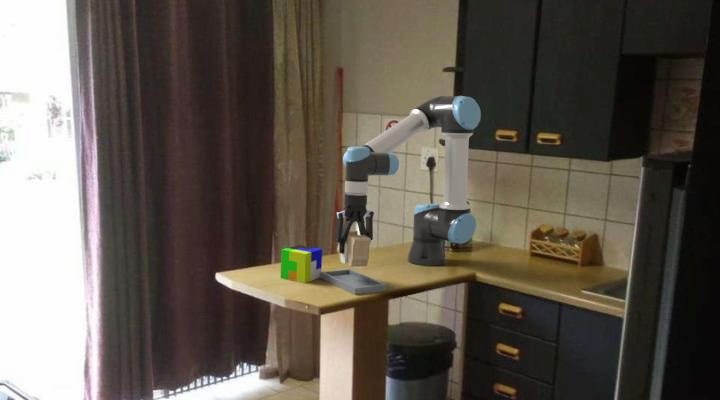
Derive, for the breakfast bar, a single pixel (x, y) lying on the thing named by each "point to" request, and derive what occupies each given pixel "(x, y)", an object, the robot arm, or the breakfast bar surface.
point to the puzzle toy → (301, 263)
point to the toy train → (357, 249)
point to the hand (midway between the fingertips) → (352, 261)
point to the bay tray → (353, 281)
